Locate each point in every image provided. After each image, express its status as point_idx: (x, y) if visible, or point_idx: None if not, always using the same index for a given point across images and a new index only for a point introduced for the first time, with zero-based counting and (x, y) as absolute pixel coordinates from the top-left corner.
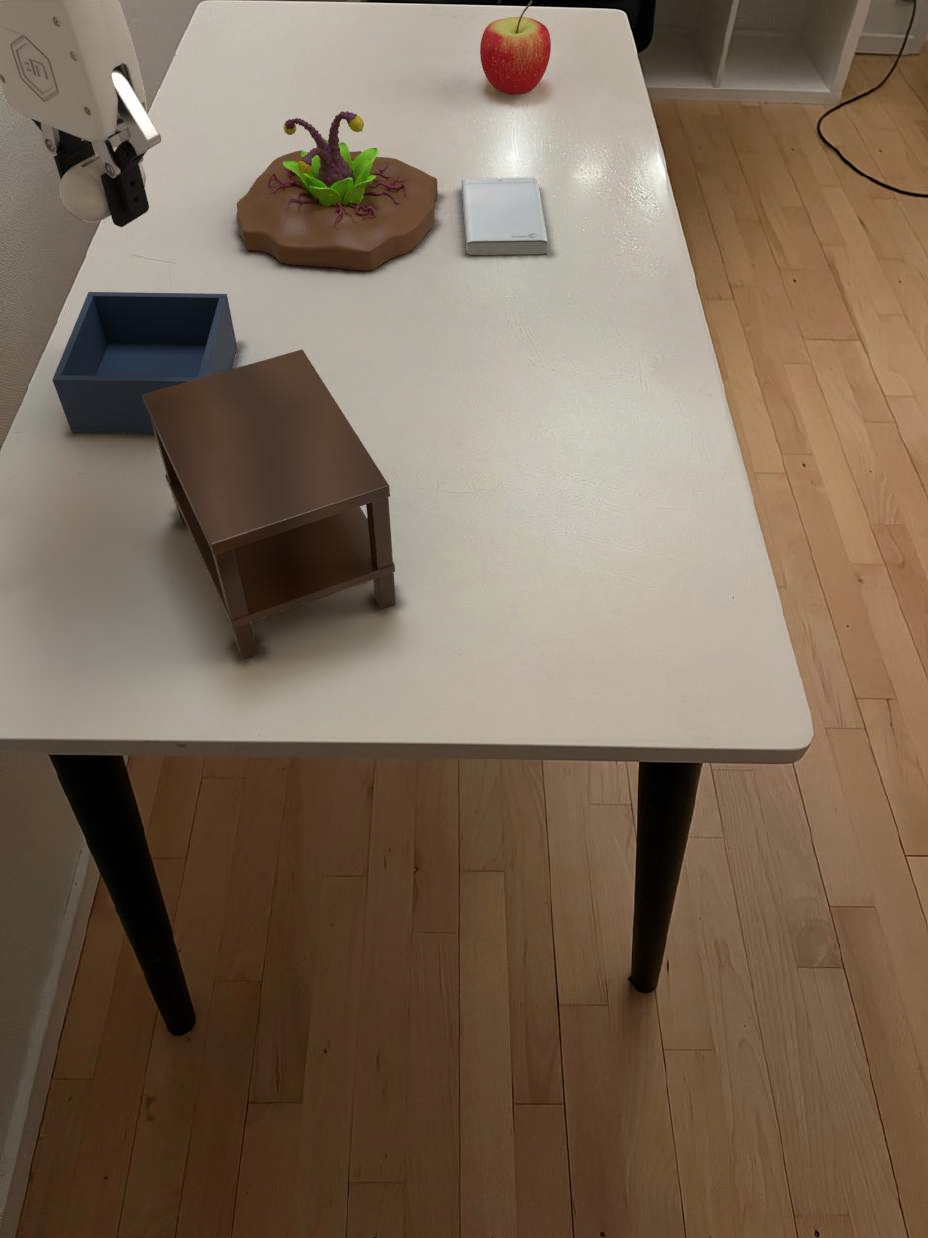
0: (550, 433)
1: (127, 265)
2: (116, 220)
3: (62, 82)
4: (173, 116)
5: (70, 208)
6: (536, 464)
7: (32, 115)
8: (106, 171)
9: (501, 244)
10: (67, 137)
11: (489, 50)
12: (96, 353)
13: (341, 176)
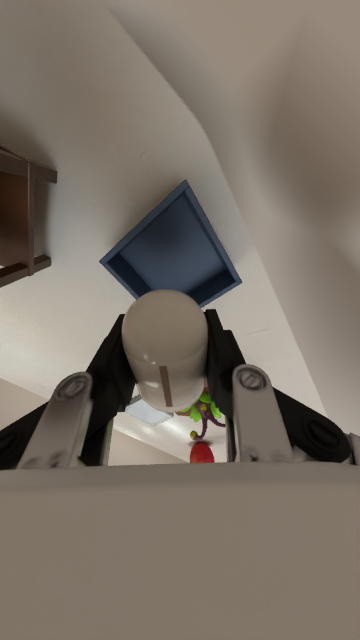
0: (22, 344)
1: (265, 322)
2: (118, 317)
3: None
4: (311, 396)
5: (157, 290)
6: (4, 328)
7: (266, 506)
8: (89, 378)
9: (132, 402)
10: (230, 405)
11: (206, 459)
12: (217, 253)
13: (197, 406)
